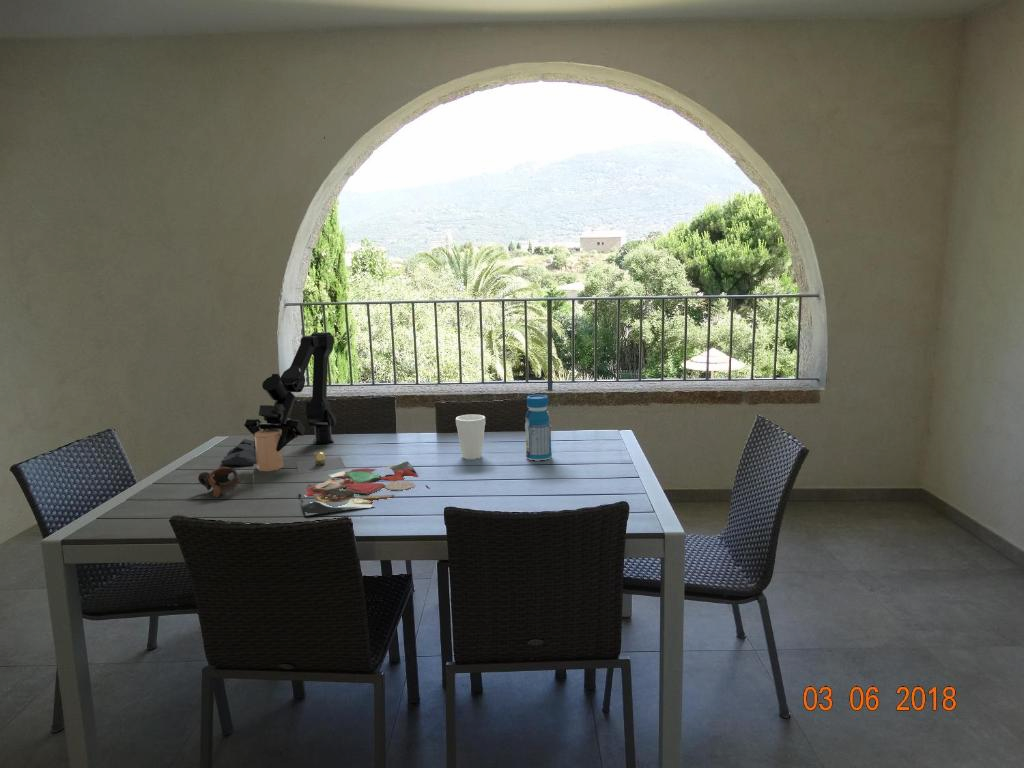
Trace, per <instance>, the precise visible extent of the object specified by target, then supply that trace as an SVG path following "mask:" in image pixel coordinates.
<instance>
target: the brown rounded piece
mask: <svg viewBox="0 0 1024 768" xmlns="http://www.w3.org/2000/svg"><path fill="white" fill-rule="evenodd" d="M231 474H233V478H232V479H230V478H229V475H231ZM197 479H198V482H199V483H200V484H201V485H202V486H203V487H205V488H206V489H207V491H209V490H211V489H213V492H212V495H213V497H215V496H217V497H216V498H219V497H220V496H221V495H223V494H225V493H229V492H230V491H233V490H234V489H235V488H237V486H238V485H239V484H240V483H241V479H240V478H239V474H238V472H237V470H236V469H234V468H232V467H229V466H220V467H217V468H215V469H213V470H212V471H211V472H207V471H203V472H201V473H199V475H198V476H197ZM218 496H219V497H218Z"/></svg>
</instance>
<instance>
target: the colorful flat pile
mask: <svg viewBox="0 0 1024 768" xmlns="http://www.w3.org/2000/svg"><path fill="white" fill-rule="evenodd" d="M379 469H390V470H392V472H393V474H394V475H393V474H385V475H386V476H385V475H384V476H385V477H384V476H382V475H380V474H379V473H374V471H377V470H379ZM328 476H329V477H331V478H328V479H327V480H325V481H324V482H320V483H317V484H315V485H314V487H313V486H310V487H311V488H309V487H307V488H308V489H307V488H306V489H307V492H308V493H307V494H305V495H304V496H305V497H309V496H314V495H313V494H316V493H317V494H321V495H319V496H317V497H316V498H315V500H318V501H315V502H310V503H306V504H304V505H301V507H302V510H303V513H304V512H307V513H320V514H319V515H323V514H329V513H328V512H330V513H337V512H343V511H350V510H355V509H356V510H357V509H364V508H366V509H367V508H368V509H369V508H370V509H371V507H372V505H371V504H372V503H373V502H372V501H373V500H377V501H380V500H379V499H384V500H388V499H387V498H393V497H394V496H395V495H393V494H379V495H377V494H376V493H378V492H377V491H379V492H381V491H382V490H383V489H382V488H385V489H387V490H386V491H388V490H391V491H390V492H404V491H403V490H406V491H410V490H412V489H414V488H415V487H416V484H415V483H414V482H411V481H408V480H406V479H405V478H406V477H404V476H413V477H412V478H419V475H418V473H417V472H416V470H415V468H414V467H413V466H412V465H411V464H410V462H409V461H404V462H400V463H395V464H392V465H388V466H382V467H374V468H373V467H372V468H368V467H367V468H365V467H364V468H355V469H354V468H353V469H347V470H343V471H339V472H338V471H337V472H333V473H330V474H329V473H328ZM381 476H382V477H381ZM403 477H404V478H403ZM404 479H405V480H404ZM379 480H380V481H388V483H387V484H384V483H380V482H379ZM397 480H404V481H397ZM376 481H377V482H376ZM389 481H393V482H389ZM395 481H396V482H395ZM372 482H373V483H372ZM424 487H426V488H427V489H428V490H431V487H429V486H428V485H427V484H425V486H424ZM342 488H343V489H346V491H345V490H341V491H340V490H339V489H342ZM411 488H412V489H411ZM381 489H382V490H381ZM385 489H384V490H385ZM409 489H410V490H409ZM380 490H381V491H380ZM375 492H376V493H375ZM372 493H374V494H376V495H373V494H372ZM354 494H359V495H358V496H357V497H355V498H353V497H354ZM370 494H372V495H370ZM363 495H365V496H363ZM366 495H367V496H366ZM350 498H353V499H351V500H349V499H350ZM346 500H349V501H348V503H347V504H345V505H342V506H338V507H332V506H329V505H327V504H326V503H324V502H343V501H346ZM336 511H337V512H336Z"/></svg>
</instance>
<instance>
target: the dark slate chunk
mask: <svg viewBox="0 0 1024 768" xmlns="http://www.w3.org/2000/svg"><path fill="white" fill-rule="evenodd" d="M220 463H221V464H222V466H224V467H229V466H234V465H235V466H237V465H238V466H239V465H240V466H239V467H241V466H242V467H243V466H244V467H254V466H255V465H257V461H256V451H255V450H254V440H251V439H248V438H243V440H241V442H239V443H238V444H237V446H235V447H233V448H232V449H230V450H229V451H228V452H227V454H226V455H225V456H224V457H223V459H222V460H221V462H220Z"/></svg>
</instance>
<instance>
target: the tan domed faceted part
mask: <svg viewBox="0 0 1024 768" xmlns="http://www.w3.org/2000/svg"><path fill="white" fill-rule="evenodd" d="M280 432H281V430H267V429H265V430H262V431H258V432H256V433H255V436H254V435H253V441H254V440H255V450H256V461H257V464H256V469H257V470H258V471H259V472H273V471H277V470H280V469H282V468H284V457H283V455H284V454H283V448H282V449H281V450H280V451H277V450H276V449H277V445H278V442H279V440H280V437H281V434H282V433H280Z"/></svg>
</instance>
